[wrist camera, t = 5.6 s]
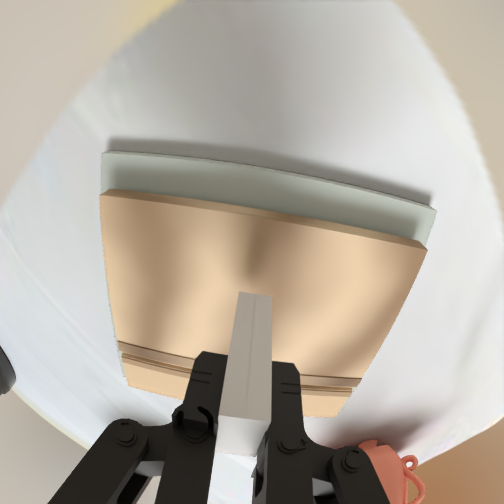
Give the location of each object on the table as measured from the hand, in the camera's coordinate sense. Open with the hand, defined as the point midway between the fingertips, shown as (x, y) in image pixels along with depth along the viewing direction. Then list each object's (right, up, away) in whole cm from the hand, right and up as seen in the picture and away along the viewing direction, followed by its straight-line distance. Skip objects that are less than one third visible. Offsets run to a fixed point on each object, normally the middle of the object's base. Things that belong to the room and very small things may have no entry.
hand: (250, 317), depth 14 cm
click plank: (0, 0, +4) cm, 4 cm away
